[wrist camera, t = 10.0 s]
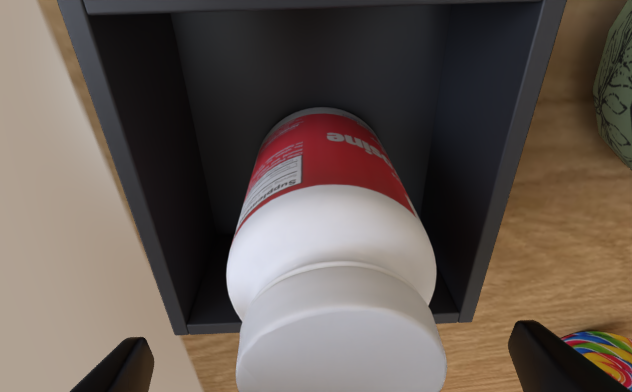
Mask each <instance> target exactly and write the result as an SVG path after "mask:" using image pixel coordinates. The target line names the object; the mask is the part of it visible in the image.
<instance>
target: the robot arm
mask: <svg viewBox="0 0 632 392" xmlns="http://www.w3.org/2000/svg"><path fill="white" fill-rule="evenodd" d="M508 349H509V353H510V356H511V358H512V361H513V364H514V367H515V369H516V372H517V375H518V378H519V380H520V383H521V386H522V389H523V391H524V392H632V391H631V390H629V389H628V388H627V387H625V386H624V385H622V384H621V383H620V382H618V381H617V380H616V379H614V378H613V377H612V376H610V375H609V374H608V373H606V372H605V371H604V370H602V369H601V368H600V367H598V366H597V365H596V364H594V363H593V362H591V361H590V360H589V359H587V358H586V357H585V356H583V355H582V354H581V353H579V352H578V351H577V350H575V349H574V348H573V347H571V346H570V345H569V344H567V343H566V342H564V341H563V340H562V339H560V338H559V337H558V336H556V335H555V334H554V333H552V332H551V331H550V330H548V329H547V328H546V327H544V326H543V325H542V324H540V323H539V322H537V321H534V320H520V321H517V322H516V323H515V326H514V328H513V331H512V333H511V336H510V338H509V341H508ZM153 368H154V357H153V355H152V352H151V350H150V348H149V345H148V343H147V341H146V339H145V338H144V337H130V338H127V339H125V340H123V341H122V342H121V343H120V344H119V345H118V346H117V347H116V348H115V349H114V350H113V351H112V352H111V353H110V354H109V355H107V357H105V358H104V359H103V360H102V361H101V362H100V363H99V364H98V365H97V366H96V367H95V368H94V369H93V370H92V371H91V372H90V373H89V374H88V375H87V376H86V377H84V378H83V380H81V381H80V382H79V383H78V384H77V385H76V386H75V387H74V388H73V389H72V390H71V391H70V392H148V390H149V386H150V381H151V377H152V373H153Z"/></svg>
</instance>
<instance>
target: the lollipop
mask: <svg viewBox="0 0 632 392" xmlns="http://www.w3.org/2000/svg"><path fill="white" fill-rule="evenodd" d="M561 339H562V340H563V341H564V342H566V343H567V344H569V345H570V346H571V347H573V348H574V349H575V350H577V351H578V352H579V353H581V354H582V355H583V356H585V357H586V358H587V359H589V360H590V361H591V362H593V363H594V364H596V365H597V366H598V367H600V368H601V369H602V370H604V371H605V372H606V373H608V374H609V375H610V376H612V377H613V378H614V379H616V380H617V381H618V382H620V383H621V384H622V385H624V386H625V387H627V388H628V389H629V390H631V391H632V340H631V339H628V338H626V337H623V336H619V335H616V334H612V333H606V332H598V331H591V332H580V333H574V334H571V335H568V336H565V337H563V338H561Z"/></svg>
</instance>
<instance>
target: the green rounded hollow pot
mask: <svg viewBox="0 0 632 392" xmlns="http://www.w3.org/2000/svg"><path fill="white" fill-rule="evenodd" d="M592 91H593V98H594V104H595V111H596V118H597V125H598V132H599V135H600V136H601V138H602V139H603V140H604V141H605V142H606V143H607V144H608V146H609V147H610V148H611V149H612V150H613V151H614V152H615V154H616V155H617V156H618V157H619V158H620V159H621V160H622V162H623V163H624V164H625V165H627V166H628V167H629V168H630V169H631V170H632V0H628V1H627V2H626V4H625V6H624V7H623V9H622V10H621V12H620V14H619V15H618V17H617V18H616V20H615V21H614V23H613V25H612V26H611V28H610V29H609V33H608V36H607V40H606V43H605V47H604V50H603V54H602V57H601V61H600V64H599V68H598V71H597V75H596V78H595V82H594V85H593V89H592Z"/></svg>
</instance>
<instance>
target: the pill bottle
mask: <svg viewBox="0 0 632 392" xmlns="http://www.w3.org/2000/svg"><path fill="white" fill-rule="evenodd" d="M226 278H227V288H228V294H229V297H230V300H231V302H232V305H233V307H234V309H235V311H236V313H237V314H238V316H239V317H240V319H241V321H242V325H241V330H240V342H239V350H238V357H237V364H236V383H237V387H238V390H239V392H439V391H440V390H441V388H442V386H443V384H444V381H445V378H446V372H447V360H446V355H445V351H444V348H443V345H442V342H441V339H440V336H439V333H438V330H437V327H436V324H435V321H434V318H433V315H432V313H431V310H430V308H429V307H428V305H429V303H430V301H431V298H432V295H433V292H434V289H435V282H436V261H435V256H434V252H433V249H432V246H431V243H430V241H429V238H428V235H427V233H426V231H425V229H424V227H423V225H422V223H421V221H420V219H419V217H418V215H417V213H416V211H415V209H414V207H413V205H412V203H411V201H410V199H409V196H408V195H407V193H406V191H405V189H404V187H403V185H402V183H401V181H400V179H399V177H398V175H397V173H396V171H395V169H394V167H393V165H392V163H391V161H390V159H389V157H388V155H387V153H386V151H385V149H384V147H383V145H382V144H381V142H380V140H379V139H378V137H377V136H376V134H375V133H374V131H373V130H372V129H371V128H370V127H369V126H368V125H367V124H366V123H365V122H364V121H362V120H361V119H360V118H358V117H356V116H355V115H353V114H351V113H349V112H346V111H343V110H340V109H336V108H330V107H315V108H308V109H304V110H301V111H298V112H295V113H293V114H291V115H289V116H287V117H285V118H284V119H283V120H281V121H280V122H279V123H277V124H276V125H275V126H274V127H273V128H272V129H271V130H270V132H269V133H268V134H267V136H266V137H265V139H264V140H263V142H262V144H261V147H260V149H259V152H258V155H257V158H256V161H255V166H254V169H253V172H252V176H251V179H250V183H249V186H248V190H247V193H246V197H245V200H244V204H243V207H242V211H241V214H240V218H239V222H238V225H237V228H236V232H235V235H234V238H233V241H232V245H231V248H230V252H229V258H228V263H227V274H226Z"/></svg>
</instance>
